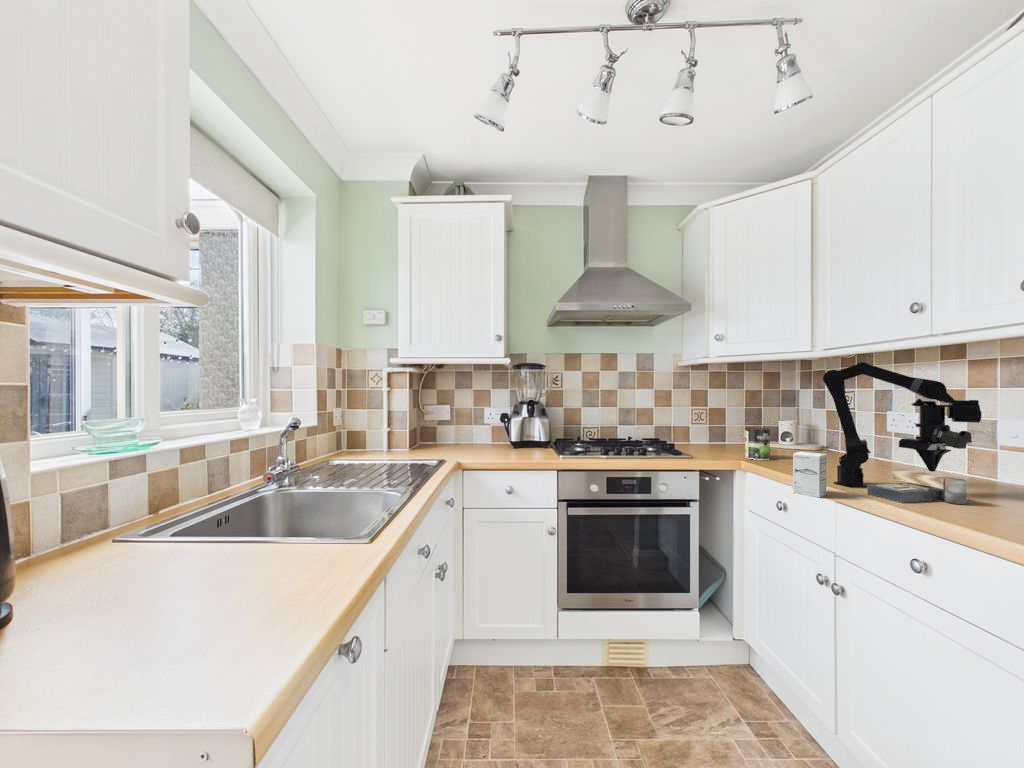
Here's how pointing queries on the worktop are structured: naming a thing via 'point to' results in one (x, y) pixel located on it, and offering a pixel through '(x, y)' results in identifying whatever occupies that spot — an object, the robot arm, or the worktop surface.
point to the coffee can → (757, 443)
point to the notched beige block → (935, 483)
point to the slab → (906, 492)
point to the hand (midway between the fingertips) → (932, 471)
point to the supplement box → (809, 474)
